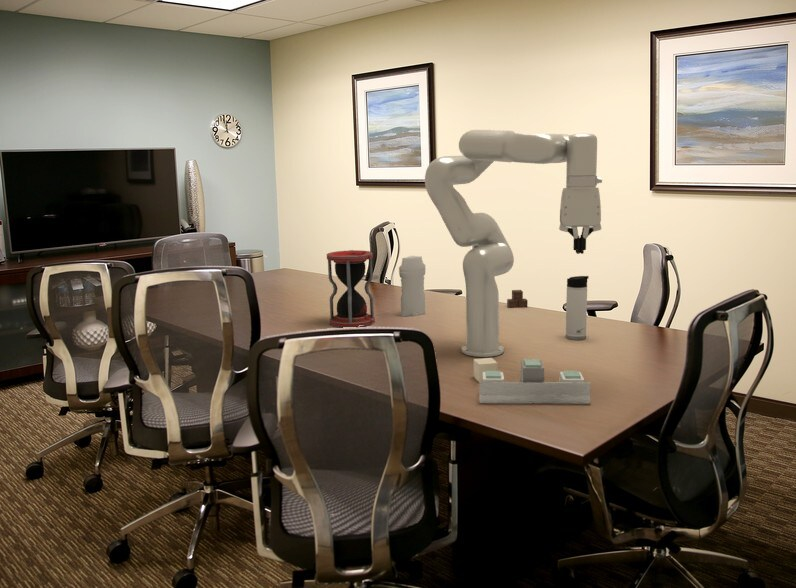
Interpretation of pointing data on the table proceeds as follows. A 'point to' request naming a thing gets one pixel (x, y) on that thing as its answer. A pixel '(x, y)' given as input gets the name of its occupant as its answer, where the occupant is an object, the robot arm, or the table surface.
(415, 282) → the tall pale column
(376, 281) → the table surface
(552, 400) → the rail
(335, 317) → the hourglass
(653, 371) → the table surface
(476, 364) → the cream cube
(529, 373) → the block
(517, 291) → the dark brown stepped block
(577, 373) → the mounted modules
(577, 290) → the travel mug
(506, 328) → the table surface
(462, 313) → the table surface
